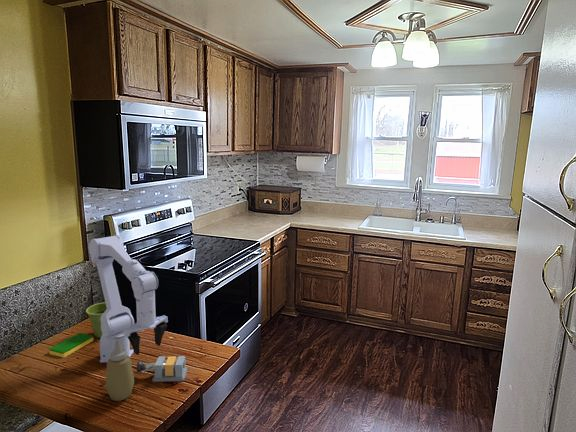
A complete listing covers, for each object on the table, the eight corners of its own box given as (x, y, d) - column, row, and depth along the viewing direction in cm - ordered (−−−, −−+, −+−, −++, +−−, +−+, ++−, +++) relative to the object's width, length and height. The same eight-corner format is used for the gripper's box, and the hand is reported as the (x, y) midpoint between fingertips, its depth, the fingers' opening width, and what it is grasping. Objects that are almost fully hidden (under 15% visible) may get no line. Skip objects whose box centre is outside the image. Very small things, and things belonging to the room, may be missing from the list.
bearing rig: (152, 381, 128) (151, 366, 127) (157, 370, 134) (156, 355, 133) (183, 380, 129) (183, 365, 128) (187, 370, 135) (186, 355, 134)
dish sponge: (94, 341, 154) (93, 335, 154) (63, 358, 141) (63, 352, 141) (80, 338, 157) (79, 332, 156) (48, 354, 144) (48, 348, 143)
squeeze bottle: (106, 406, 116) (102, 349, 112) (106, 390, 123) (103, 337, 120) (135, 400, 119) (132, 344, 116) (134, 385, 126) (131, 332, 123)
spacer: (165, 376, 129) (164, 365, 128) (168, 367, 134) (168, 356, 133) (173, 376, 129) (172, 364, 128) (176, 367, 134) (176, 356, 133)
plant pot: (90, 329, 163) (88, 303, 161) (121, 326, 167) (119, 300, 165) (85, 343, 152) (83, 315, 150) (118, 339, 156) (117, 312, 154)
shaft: (136, 374, 129) (136, 365, 128) (139, 368, 132) (139, 359, 132) (175, 373, 130) (175, 364, 129) (177, 368, 133) (177, 358, 133)
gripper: (131, 321, 119) (132, 362, 122) (172, 307, 130) (173, 345, 132) (119, 314, 124) (121, 354, 126) (160, 301, 135) (161, 338, 137)
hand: (147, 348), depth 130 cm, fingers open, 7 cm apart
